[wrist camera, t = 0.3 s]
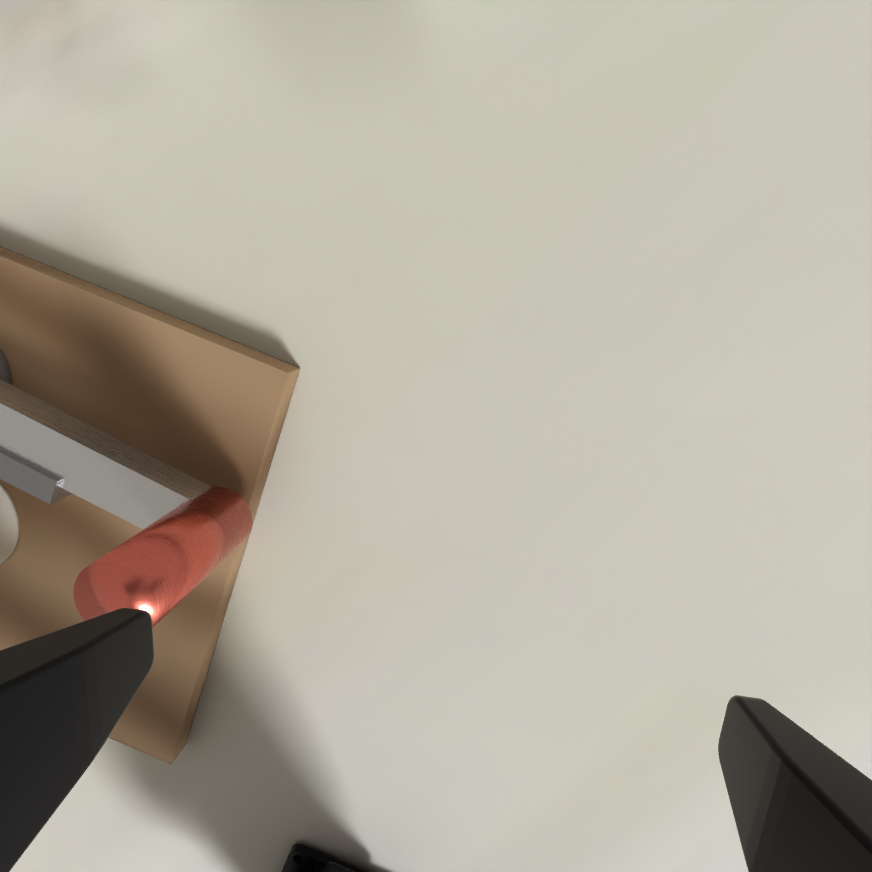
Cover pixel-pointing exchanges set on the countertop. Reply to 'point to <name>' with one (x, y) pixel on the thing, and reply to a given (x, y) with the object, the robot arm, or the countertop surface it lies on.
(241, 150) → the countertop surface
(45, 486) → the lever
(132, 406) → the cracker base
